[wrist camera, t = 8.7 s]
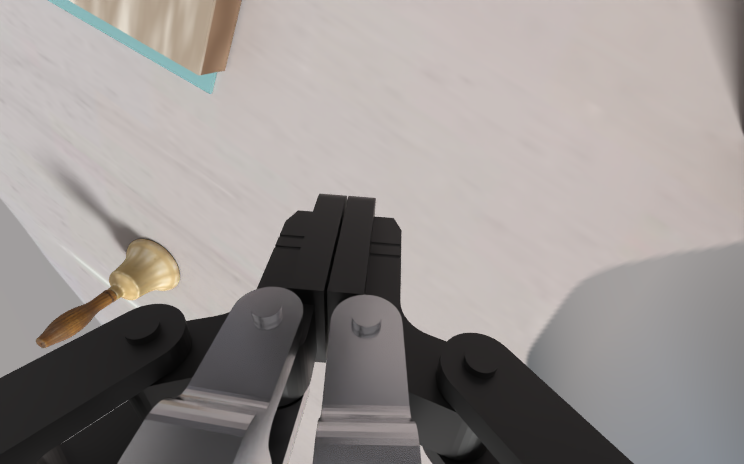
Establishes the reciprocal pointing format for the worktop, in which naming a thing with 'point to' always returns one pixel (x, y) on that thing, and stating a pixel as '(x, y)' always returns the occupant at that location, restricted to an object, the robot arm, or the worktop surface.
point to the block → (175, 27)
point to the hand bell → (119, 288)
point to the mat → (139, 46)
